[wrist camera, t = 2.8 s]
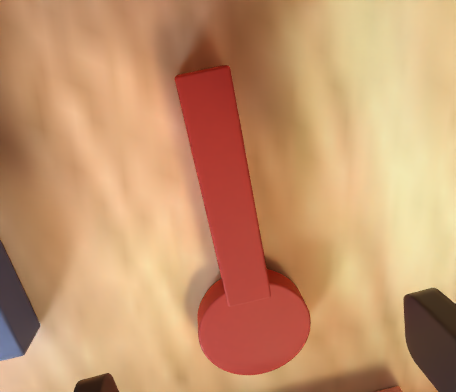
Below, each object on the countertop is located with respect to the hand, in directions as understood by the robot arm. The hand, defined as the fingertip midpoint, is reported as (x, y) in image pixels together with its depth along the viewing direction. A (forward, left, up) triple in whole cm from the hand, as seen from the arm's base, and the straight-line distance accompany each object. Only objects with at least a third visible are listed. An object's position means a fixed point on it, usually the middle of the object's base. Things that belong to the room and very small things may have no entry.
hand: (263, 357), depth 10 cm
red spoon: (-1, 0, -6) cm, 6 cm away
